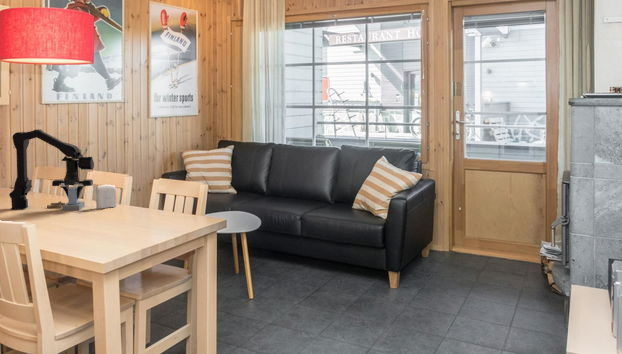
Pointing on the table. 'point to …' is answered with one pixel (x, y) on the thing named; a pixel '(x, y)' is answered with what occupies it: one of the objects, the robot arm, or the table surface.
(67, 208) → the port
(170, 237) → the table surface
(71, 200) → the plug
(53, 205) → the holster
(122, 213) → the table surface
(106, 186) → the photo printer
